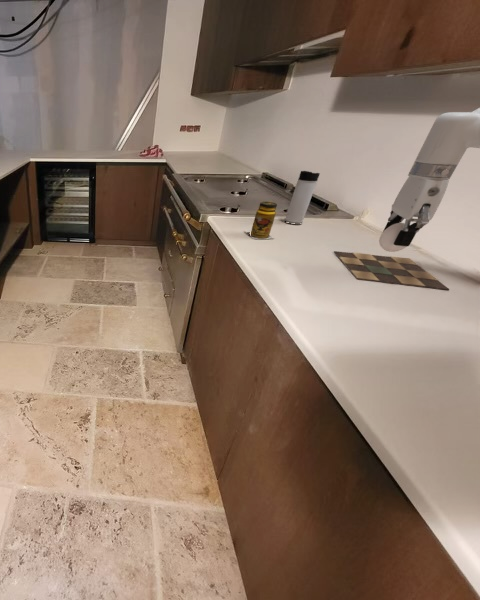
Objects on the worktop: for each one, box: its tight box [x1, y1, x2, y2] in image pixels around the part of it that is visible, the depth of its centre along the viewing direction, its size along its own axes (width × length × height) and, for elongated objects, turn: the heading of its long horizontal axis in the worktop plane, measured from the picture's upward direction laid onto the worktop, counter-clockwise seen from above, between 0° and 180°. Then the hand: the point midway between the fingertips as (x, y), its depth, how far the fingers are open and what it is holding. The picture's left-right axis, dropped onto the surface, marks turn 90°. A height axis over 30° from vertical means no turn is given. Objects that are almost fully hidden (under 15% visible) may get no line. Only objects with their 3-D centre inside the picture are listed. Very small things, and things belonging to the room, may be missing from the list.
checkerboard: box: [333, 250, 450, 291], centre depth 93 cm, size 20×20×1 cm
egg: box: [378, 222, 408, 253], centre depth 87 cm, size 6×6×8 cm
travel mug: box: [284, 170, 321, 225], centre depth 125 cm, size 6×7×20 cm
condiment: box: [245, 201, 278, 240], centre depth 115 cm, size 7×8×12 cm
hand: (394, 240), depth 87 cm, fingers closed on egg, 6 cm apart
